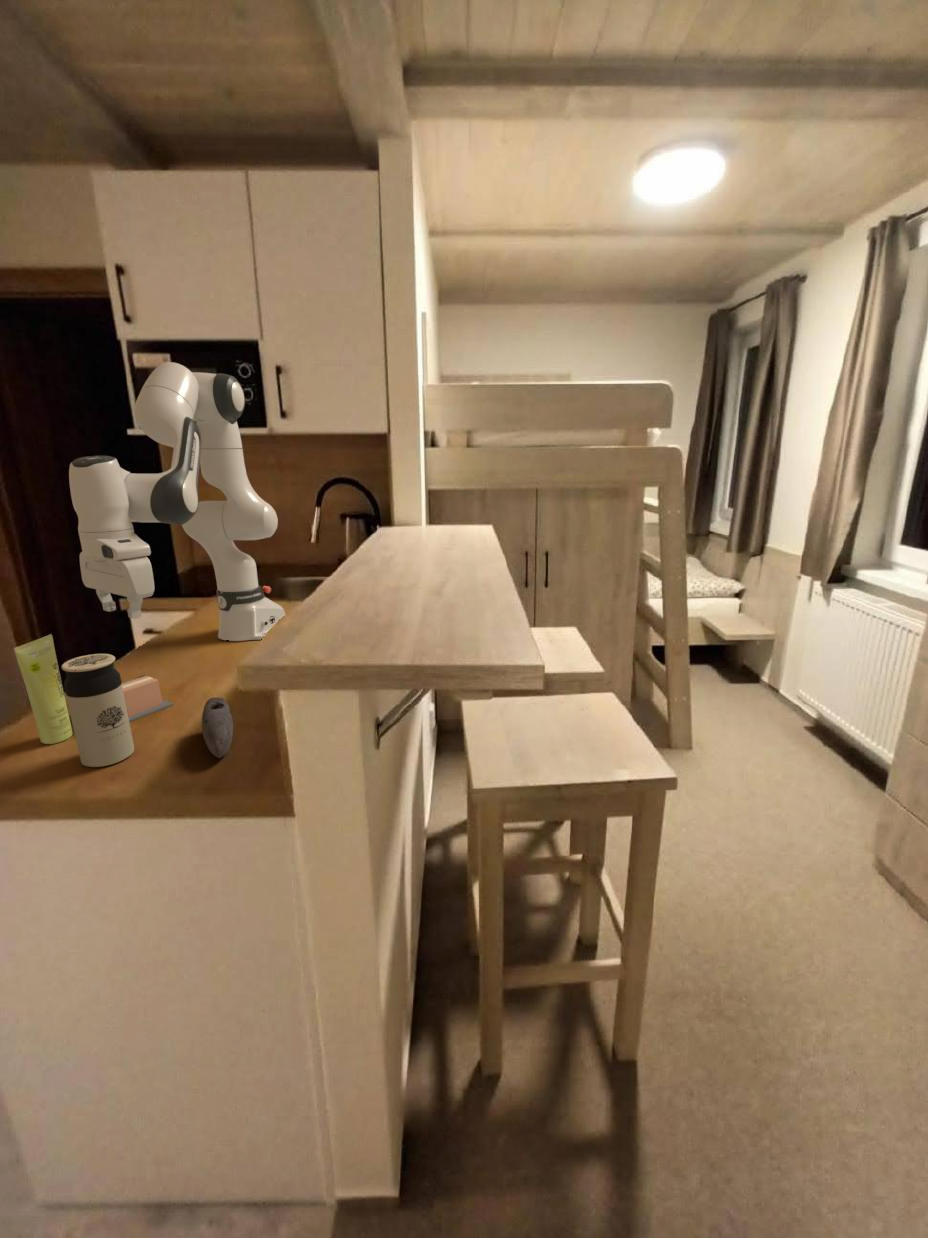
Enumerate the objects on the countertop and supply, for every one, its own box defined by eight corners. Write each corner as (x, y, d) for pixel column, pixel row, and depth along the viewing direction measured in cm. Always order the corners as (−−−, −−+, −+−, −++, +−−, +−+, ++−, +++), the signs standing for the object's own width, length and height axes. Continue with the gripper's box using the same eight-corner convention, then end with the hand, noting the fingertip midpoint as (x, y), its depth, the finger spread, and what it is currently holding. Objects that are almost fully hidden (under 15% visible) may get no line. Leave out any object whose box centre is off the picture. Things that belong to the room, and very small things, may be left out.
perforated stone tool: (235, 762, 94) (230, 726, 92) (202, 769, 92) (196, 732, 90) (234, 725, 107) (230, 692, 105) (205, 730, 105) (200, 697, 103)
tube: (72, 741, 101) (50, 642, 95) (38, 749, 98) (13, 647, 93) (73, 729, 105) (51, 633, 100) (41, 736, 103) (16, 638, 97)
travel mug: (76, 756, 96) (55, 661, 91) (127, 740, 101) (110, 649, 96) (87, 774, 90) (64, 674, 85) (140, 756, 96) (122, 661, 91)
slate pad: (153, 697, 119) (153, 695, 119) (173, 705, 116) (173, 703, 116) (105, 714, 111) (105, 712, 111) (124, 723, 108) (124, 722, 107)
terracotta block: (116, 711, 112) (111, 686, 110) (150, 699, 117) (146, 675, 116) (128, 717, 110) (123, 691, 108) (162, 704, 115) (158, 679, 114)
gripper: (64, 542, 106) (79, 610, 110) (119, 551, 96) (133, 626, 100) (99, 538, 111) (112, 603, 115) (155, 546, 101) (166, 618, 105)
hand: (122, 614), depth 108 cm, fingers open, 8 cm apart
